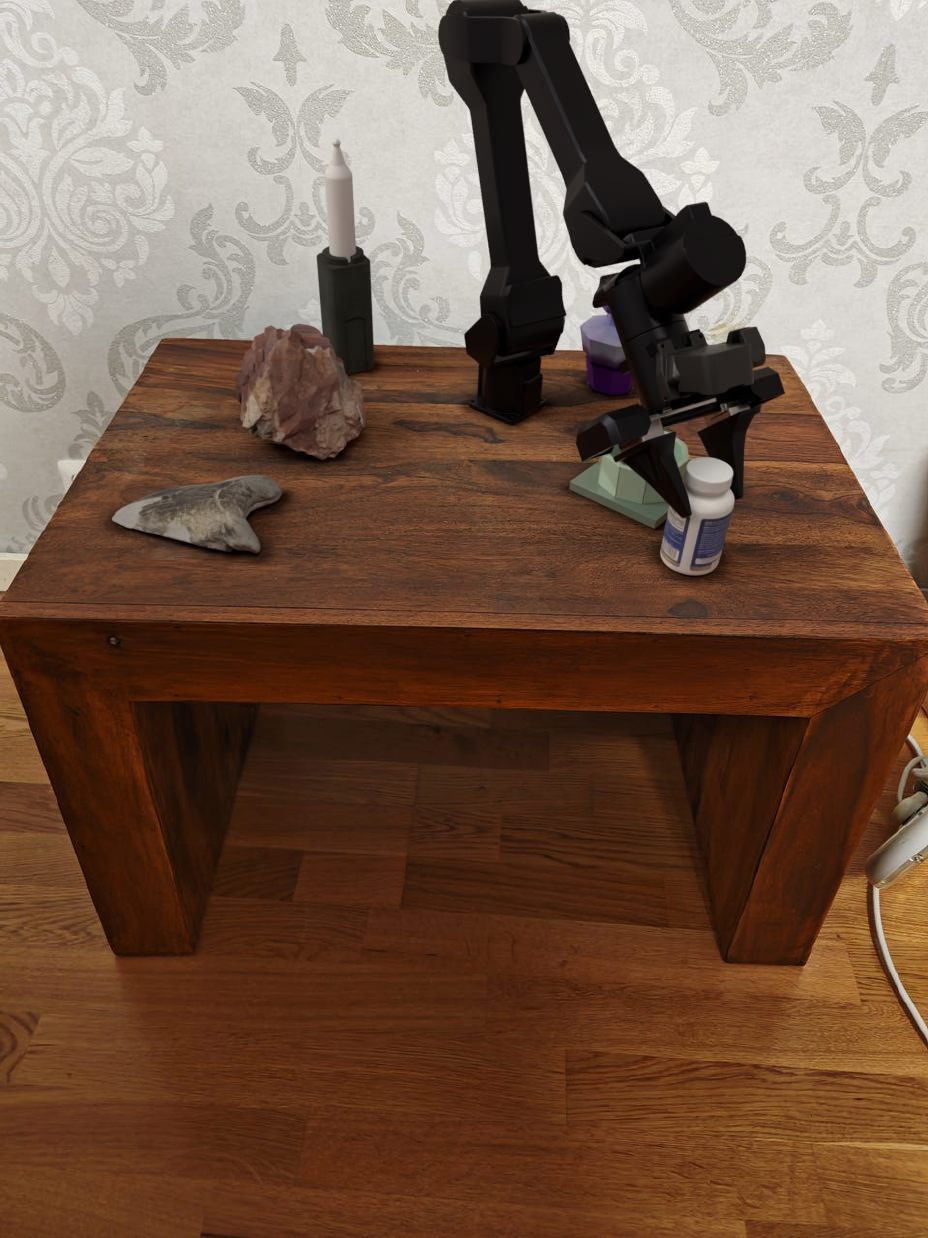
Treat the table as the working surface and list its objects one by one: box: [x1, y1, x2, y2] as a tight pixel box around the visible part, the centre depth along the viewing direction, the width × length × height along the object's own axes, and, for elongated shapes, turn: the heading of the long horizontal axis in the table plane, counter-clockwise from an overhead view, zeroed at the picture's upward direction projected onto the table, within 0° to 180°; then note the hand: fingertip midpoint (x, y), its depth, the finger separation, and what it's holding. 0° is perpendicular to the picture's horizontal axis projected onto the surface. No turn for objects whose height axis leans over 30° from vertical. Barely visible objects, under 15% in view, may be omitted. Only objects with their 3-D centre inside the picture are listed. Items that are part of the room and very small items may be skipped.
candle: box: [316, 137, 376, 376], centre depth 107 cm, size 5×5×25 cm
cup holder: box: [568, 430, 690, 530], centre depth 96 cm, size 10×10×4 cm
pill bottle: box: [659, 456, 735, 576], centre depth 85 cm, size 5×5×10 cm
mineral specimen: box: [235, 323, 367, 461], centre depth 100 cm, size 12×13×15 cm
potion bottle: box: [579, 306, 636, 398], centre depth 109 cm, size 9×9×12 cm
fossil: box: [111, 474, 283, 554], centre depth 90 cm, size 11×5×15 cm
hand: (712, 508), depth 83 cm, fingers closed on pill bottle, 5 cm apart
